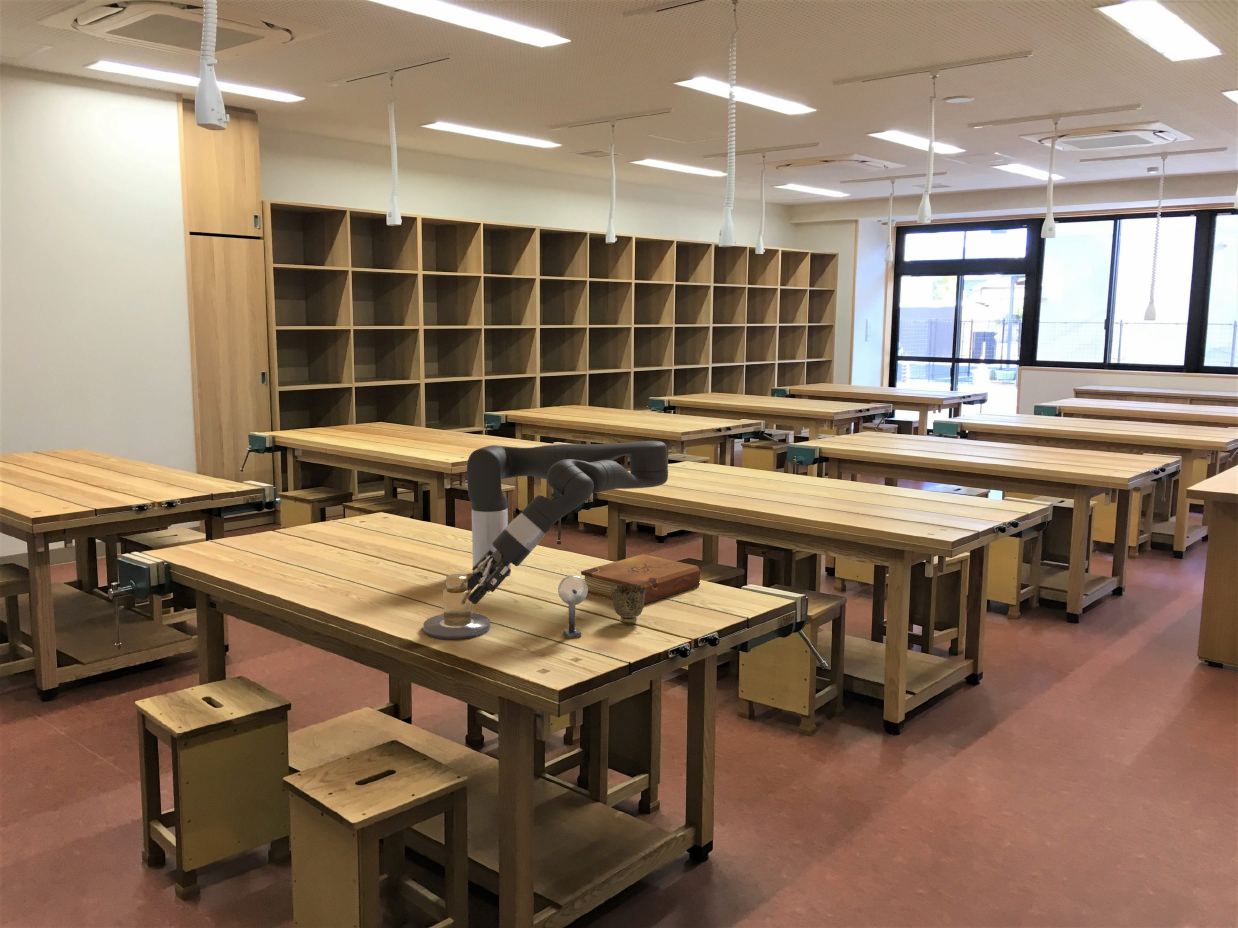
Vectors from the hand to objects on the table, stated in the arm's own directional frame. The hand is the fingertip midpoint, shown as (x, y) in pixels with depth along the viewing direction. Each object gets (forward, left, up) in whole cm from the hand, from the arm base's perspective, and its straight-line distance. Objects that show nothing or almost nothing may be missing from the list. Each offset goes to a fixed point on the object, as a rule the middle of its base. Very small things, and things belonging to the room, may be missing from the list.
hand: (467, 596), depth 202 cm
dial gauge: (-20, +12, -7) cm, 24 cm away
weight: (+2, 0, -6) cm, 6 cm away
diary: (-46, -16, -8) cm, 49 cm away
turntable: (+2, 0, -7) cm, 7 cm away
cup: (-34, +8, -7) cm, 35 cm away
